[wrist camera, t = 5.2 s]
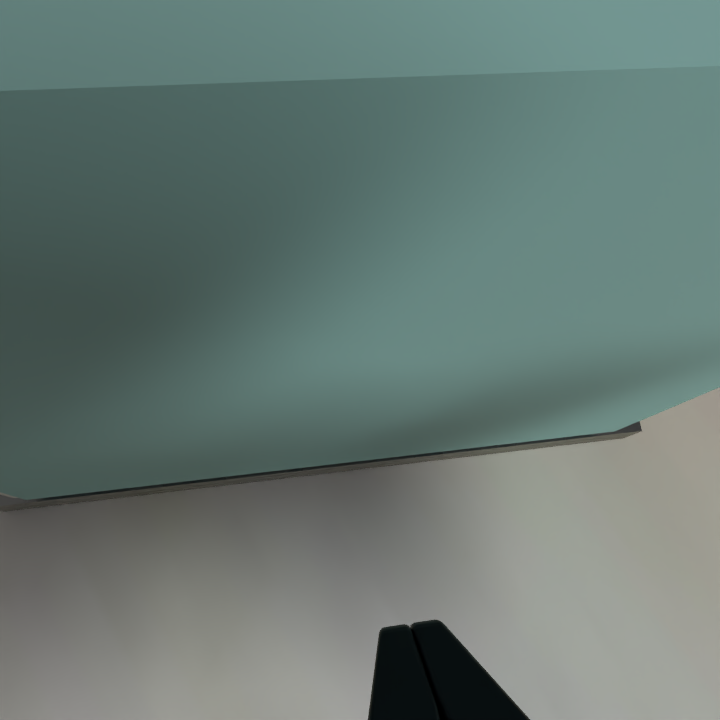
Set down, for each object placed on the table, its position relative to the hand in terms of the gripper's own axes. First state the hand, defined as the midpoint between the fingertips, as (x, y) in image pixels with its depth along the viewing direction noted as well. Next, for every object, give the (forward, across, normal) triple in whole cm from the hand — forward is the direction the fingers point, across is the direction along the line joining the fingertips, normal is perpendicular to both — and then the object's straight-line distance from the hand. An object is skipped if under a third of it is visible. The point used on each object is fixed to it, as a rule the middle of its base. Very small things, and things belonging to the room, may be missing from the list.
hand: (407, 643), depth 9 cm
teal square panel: (+7, 0, +2) cm, 7 cm away
